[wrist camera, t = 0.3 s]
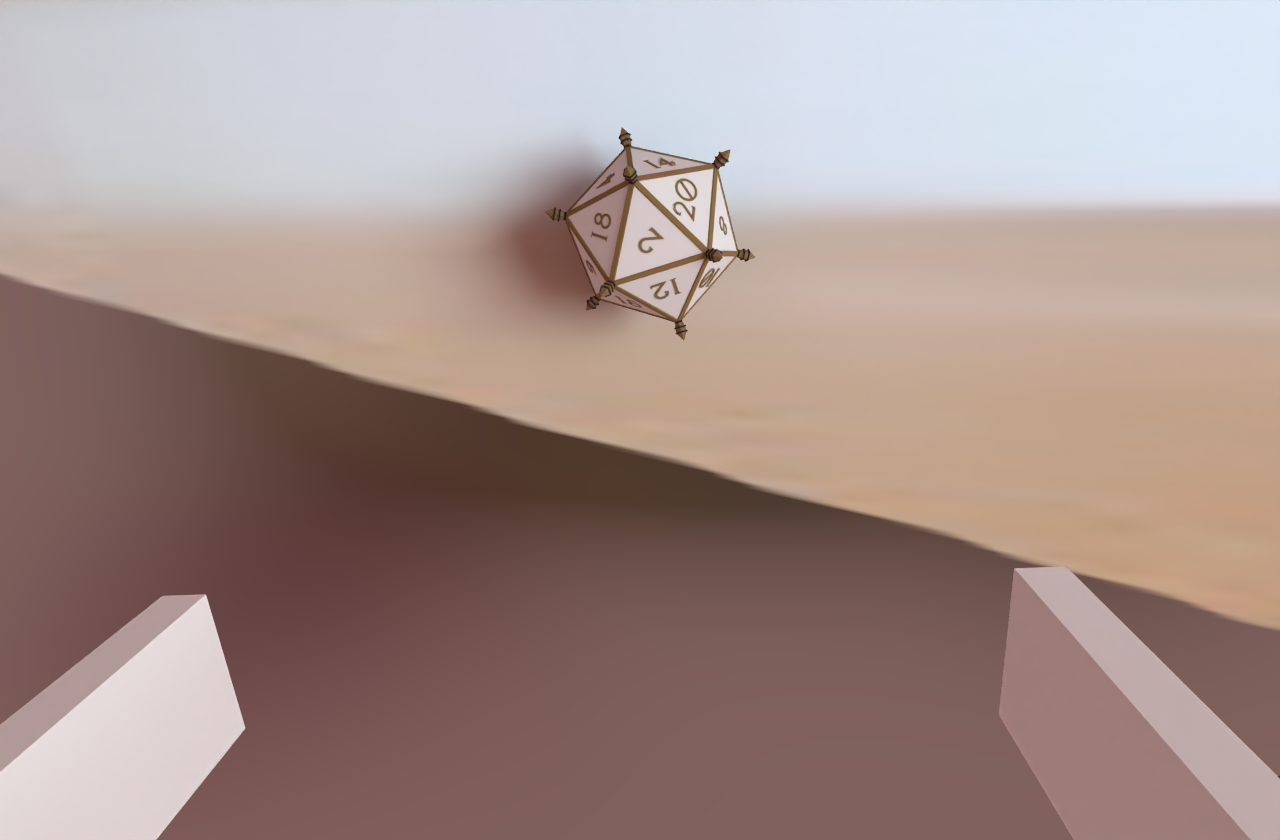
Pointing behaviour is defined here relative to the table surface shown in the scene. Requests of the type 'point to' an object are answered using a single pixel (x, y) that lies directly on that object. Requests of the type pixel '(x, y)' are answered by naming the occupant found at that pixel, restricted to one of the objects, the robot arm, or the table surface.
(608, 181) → the game die
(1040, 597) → the robot arm
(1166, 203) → the table surface
